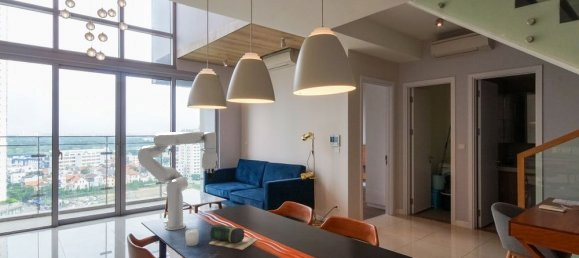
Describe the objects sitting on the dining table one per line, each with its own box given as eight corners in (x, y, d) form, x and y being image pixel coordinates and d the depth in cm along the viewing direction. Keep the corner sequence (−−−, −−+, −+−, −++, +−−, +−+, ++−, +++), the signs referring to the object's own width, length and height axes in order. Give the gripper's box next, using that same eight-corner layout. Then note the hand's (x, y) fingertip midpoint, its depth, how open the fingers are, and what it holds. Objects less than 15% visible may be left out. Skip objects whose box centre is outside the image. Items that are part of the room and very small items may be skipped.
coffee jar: (208, 239, 176) (234, 245, 167) (210, 225, 177) (235, 230, 168) (220, 236, 184) (245, 241, 175) (221, 223, 185) (246, 227, 176)
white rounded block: (182, 244, 171) (182, 232, 172) (191, 240, 178) (191, 228, 178) (192, 246, 169) (192, 233, 169) (201, 242, 175) (200, 230, 175)
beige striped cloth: (209, 244, 172) (209, 243, 172) (225, 235, 187) (225, 234, 187) (242, 249, 164) (242, 248, 164) (257, 240, 178) (257, 239, 178)
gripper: (197, 150, 201) (197, 179, 201) (216, 151, 195) (216, 180, 195) (204, 150, 208) (204, 177, 208) (223, 150, 202) (223, 178, 202)
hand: (210, 178), depth 201 cm, fingers closed
